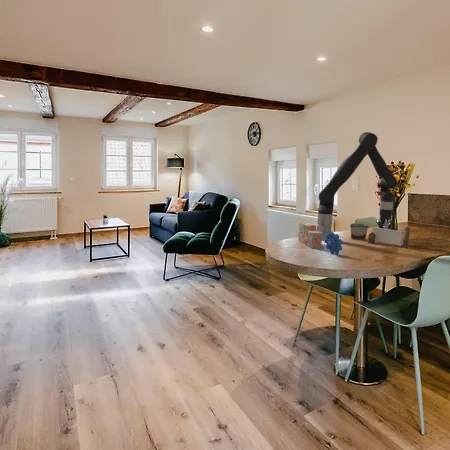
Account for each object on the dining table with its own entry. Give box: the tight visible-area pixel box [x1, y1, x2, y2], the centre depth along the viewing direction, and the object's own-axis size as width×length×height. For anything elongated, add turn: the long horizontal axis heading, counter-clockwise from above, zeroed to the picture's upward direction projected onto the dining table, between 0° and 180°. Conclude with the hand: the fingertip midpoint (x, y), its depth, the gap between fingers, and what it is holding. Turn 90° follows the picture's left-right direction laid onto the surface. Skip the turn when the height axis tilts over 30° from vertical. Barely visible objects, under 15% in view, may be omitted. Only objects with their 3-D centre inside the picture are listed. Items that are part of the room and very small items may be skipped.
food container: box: [349, 223, 370, 240], centre depth 236 cm, size 12×6×10 cm, turn 84°
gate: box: [372, 227, 404, 246], centre depth 216 cm, size 18×2×9 cm, turn 43°
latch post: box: [367, 231, 376, 245], centre depth 220 cm, size 3×3×7 cm
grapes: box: [323, 231, 343, 255], centre depth 188 cm, size 12×7×12 cm, turn 38°
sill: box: [374, 241, 403, 248], centre depth 216 cm, size 4×16×1 cm, turn 44°
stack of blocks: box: [298, 222, 323, 249], centre depth 211 cm, size 21×6×12 cm, turn 9°
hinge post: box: [401, 226, 411, 249], centre depth 208 cm, size 3×3×13 cm
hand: (383, 234), depth 225 cm, fingers closed
